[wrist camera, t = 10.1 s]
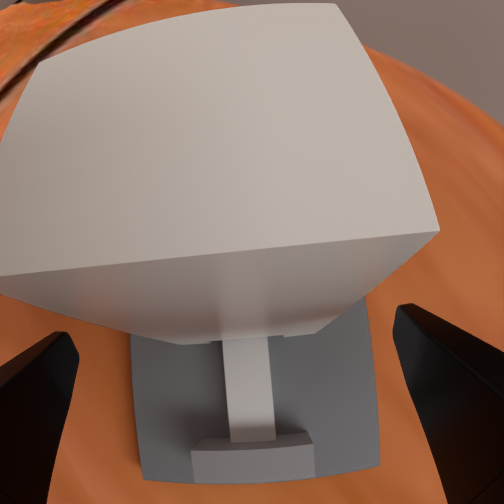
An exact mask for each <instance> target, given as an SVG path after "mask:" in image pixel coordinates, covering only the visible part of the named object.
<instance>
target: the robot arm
mask: <svg viewBox="0 0 504 504" xmlns="http://www.w3.org/2000/svg"><path fill="white" fill-rule="evenodd" d="M393 340H394V343H395V346H396V350H397V353H398V356H399V360H400V363H401V367H402V370H403V374H404V378H405V381H406V384H407V387H408V390H409V393H410V395H411V398H412V400H413V403H414V406H415V408H416V411H417V413H418V416H419V419H420V421H421V424H422V427H423V429H424V432H425V435H426V438H427V441H428V443H429V446H430V449H431V452H432V455H433V458H434V461H435V464H436V467H437V470H438V473H439V476H440V479H441V483H442V486H443V489H444V492H445V496H446V499H447V502H448V504H504V352H502V351H501V350H499V349H497V348H495V347H493V346H492V345H490V344H488V343H486V342H484V341H482V340H481V339H479V338H477V337H475V336H473V335H471V334H470V333H468V332H466V331H464V330H462V329H460V328H459V327H457V326H455V325H453V324H451V323H449V322H447V321H445V320H444V319H442V318H440V317H438V316H436V315H434V314H432V313H430V312H428V311H427V310H425V309H423V308H421V307H419V306H417V305H415V304H413V303H409V304H403V305H399V306H398V307H397V309H396V314H395V320H394V326H393ZM78 365H79V353H78V351H77V349H76V347H75V345H74V343H73V341H72V339H71V337H70V335H69V334H68V333H67V332H65V331H56V332H53V333H52V334H50V335H48V336H47V337H45V338H44V339H42V340H41V341H39V342H37V343H36V344H34V345H33V346H31V347H30V348H28V349H27V350H25V351H23V352H22V353H20V354H19V355H17V356H16V357H14V358H13V359H11V360H10V361H8V362H7V363H5V364H4V365H2V366H1V367H0V504H46V503H47V498H48V492H49V487H50V482H51V477H52V473H53V468H54V464H55V459H56V455H57V451H58V447H59V443H60V439H61V435H62V431H63V428H64V424H65V420H66V417H67V413H68V410H69V406H70V402H71V398H72V393H73V388H74V383H75V378H76V373H77V369H78Z"/></svg>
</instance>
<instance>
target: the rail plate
mask: <svg viewBox="0 0 504 504" xmlns="http://www.w3.org/2000/svg"><path fill="white" fill-rule="evenodd" d="M130 348H131V370H132V386H133V399H134V411H135V421H136V430H137V439H138V446H139V454H140V461H141V468H142V474H143V479H144V480H152V481H162V482H174V483H190V484H256V483H272V482H284V481H294V480H303V479H311V478H318V477H325V476H331V475H337V474H343V473H348V472H353V471H358V470H363V469H367V468H372V467H376V466H380V443H379V422H378V407H377V394H376V382H375V372H374V362H373V353H372V344H371V336H370V329H369V321H368V314H367V308H366V301H365V296H364V297H362V298H361V299H360V300H359V301H357V302H356V303H355V304H353V305H352V306H351V307H350V308H348V309H347V310H346V311H344V312H343V313H342V314H341V315H339V316H338V317H337V318H335V319H334V320H333V321H331V322H330V323H329V324H327V325H326V326H325V327H323V328H322V329H320V330H319V331H318V332H316V333H315V334H307V335H299V336H290V337H284V336H283V335H278V336H268V337H257V338H246V339H233V340H219V341H211V343H206V344H187V345H180V344H175V343H170V342H165V341H161V340H156V339H152V338H147V337H143V336H139V335H135V334H130Z"/></svg>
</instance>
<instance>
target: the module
mask: <svg viewBox="0 0 504 504" xmlns="http://www.w3.org/2000/svg"><path fill="white" fill-rule="evenodd" d="M439 231H440V228H439V224H438V221H437V218H436V214H435V211H434V208H433V205H432V201H431V198H430V195H429V192H428V189H427V186H426V183H425V181H424V178H423V175H422V172H421V169H420V167H419V164H418V161H417V159H416V156H415V154H414V151H413V149H412V146H411V144H410V141H409V139H408V136H407V134H406V132H405V129H404V127H403V125H402V123H401V120H400V118H399V116H398V114H397V111H396V109H395V107H394V105H393V103H392V101H391V99H390V97H389V95H388V93H387V91H386V89H385V87H384V85H383V83H382V81H381V79H380V77H379V75H378V73H377V71H376V69H375V68H374V66H373V64H372V62H371V60H370V58H369V57H368V55H367V53H366V51H365V50H364V48H363V46H362V44H361V43H360V41H359V39H358V38H357V36H356V35H355V33H354V31H353V30H352V28H351V26H350V25H349V23H348V22H347V20H346V19H345V17H344V16H343V14H342V13H341V11H340V9H339V8H338V7H337V5H336V4H329V3H285V4H265V5H252V6H241V7H233V8H225V9H217V10H211V11H204V12H198V13H193V14H187V15H182V16H177V17H173V18H168V19H164V20H160V21H155V22H151V23H148V24H144V25H140V26H136V27H133V28H129V29H126V30H123V31H119V32H116V33H113V34H110V35H107V36H104V37H101V38H98V39H95V40H93V41H90V42H87V43H85V44H82V45H79V46H77V47H74V48H72V49H69V50H67V51H64V52H62V53H60V54H57V55H55V56H53V57H51V58H48V59H46V60H44V61H42V62H40V63H39V64H38V66H37V67H36V69H35V71H34V73H33V75H32V76H31V78H30V80H29V82H28V84H27V86H26V88H25V90H24V91H23V93H22V95H21V97H20V100H19V102H18V104H17V106H16V108H15V110H14V112H13V114H12V117H11V119H10V121H9V123H8V126H7V128H6V130H5V133H4V135H3V138H2V140H1V143H0V294H2V295H5V296H7V297H10V298H13V299H16V300H18V301H21V302H24V303H27V304H30V305H33V306H36V307H39V308H42V309H45V310H48V311H51V312H55V313H58V314H61V315H64V316H68V317H71V318H74V319H78V320H81V321H85V322H88V323H92V324H96V325H99V326H103V327H107V328H111V329H114V330H118V331H122V332H126V333H130V334H135V335H139V336H143V337H147V338H152V339H156V340H161V341H165V342H170V343H175V344H180V345H187V344H206V343H211V341H219V340H233V339H246V338H257V337H268V336H278V335H283V336H284V337H290V336H299V335H307V334H315V333H316V332H318V331H319V330H320V329H322V328H323V327H325V326H326V325H327V324H329V323H330V322H331V321H333V320H334V319H335V318H337V317H338V316H339V315H341V314H342V313H343V312H344V311H346V310H347V309H348V308H350V307H351V306H352V305H353V304H355V303H356V302H357V301H359V300H360V299H361V298H362V297H364V296H365V295H366V294H367V293H369V292H370V291H371V290H372V289H374V288H375V287H376V286H377V285H379V284H380V283H381V282H382V281H383V280H385V279H386V278H387V277H388V276H389V275H391V274H392V273H393V272H394V271H395V270H397V269H398V268H399V267H400V266H401V265H402V264H404V263H405V262H406V261H407V260H408V259H409V258H411V257H412V256H413V255H414V254H415V253H416V252H417V251H418V250H420V249H421V248H422V247H423V246H424V245H425V244H426V243H427V242H428V241H430V240H431V239H432V238H433V237H434V236H435V235H436V234H437V233H438V232H439Z"/></svg>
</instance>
